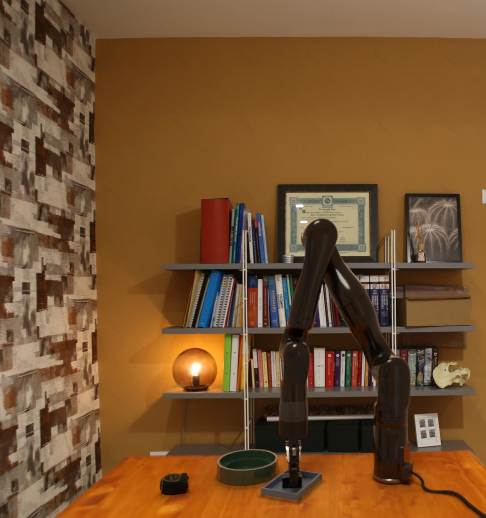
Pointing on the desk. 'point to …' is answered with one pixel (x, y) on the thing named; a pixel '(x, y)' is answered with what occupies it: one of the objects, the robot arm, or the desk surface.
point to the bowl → (247, 467)
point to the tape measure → (174, 483)
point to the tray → (291, 493)
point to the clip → (286, 480)
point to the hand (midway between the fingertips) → (292, 480)
